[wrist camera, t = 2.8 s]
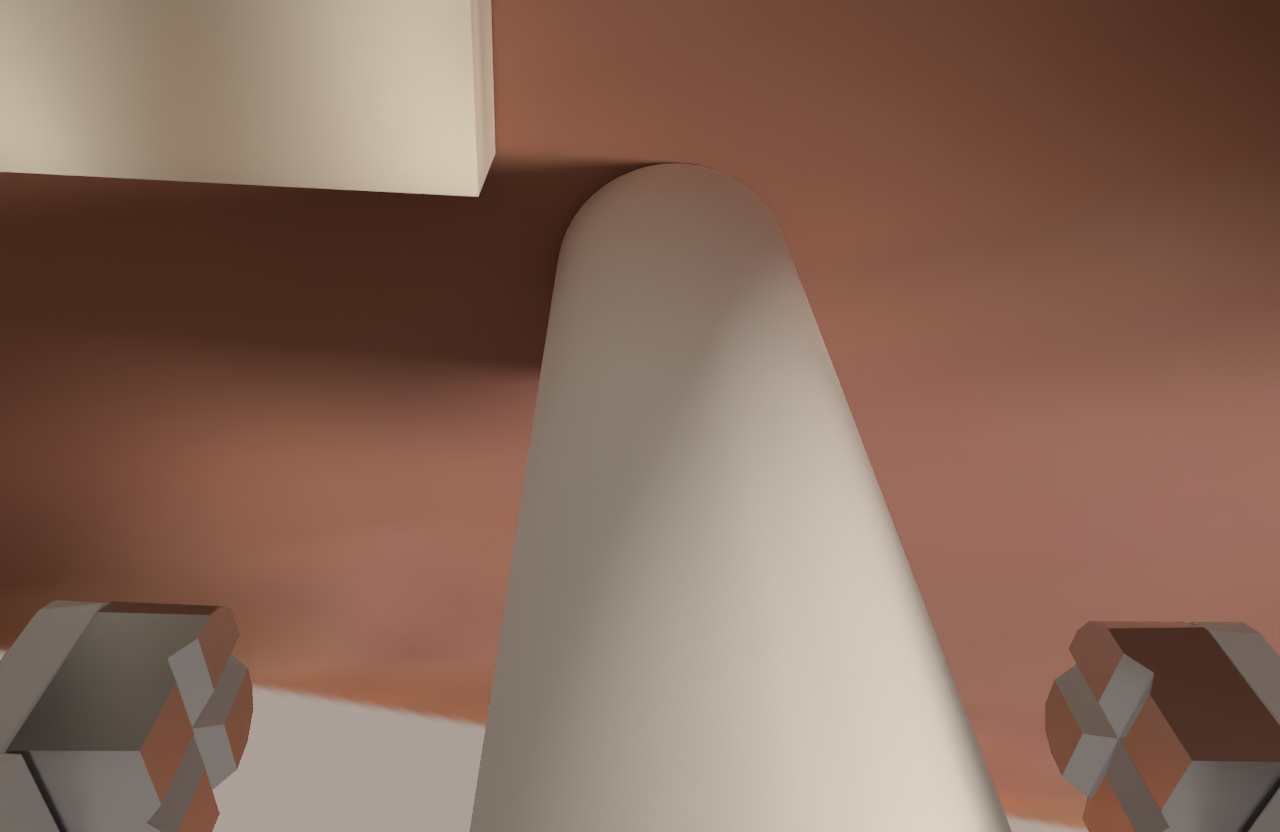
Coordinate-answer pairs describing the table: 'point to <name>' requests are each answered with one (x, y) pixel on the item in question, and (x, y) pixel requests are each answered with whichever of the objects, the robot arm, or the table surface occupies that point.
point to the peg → (709, 557)
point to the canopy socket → (251, 92)
